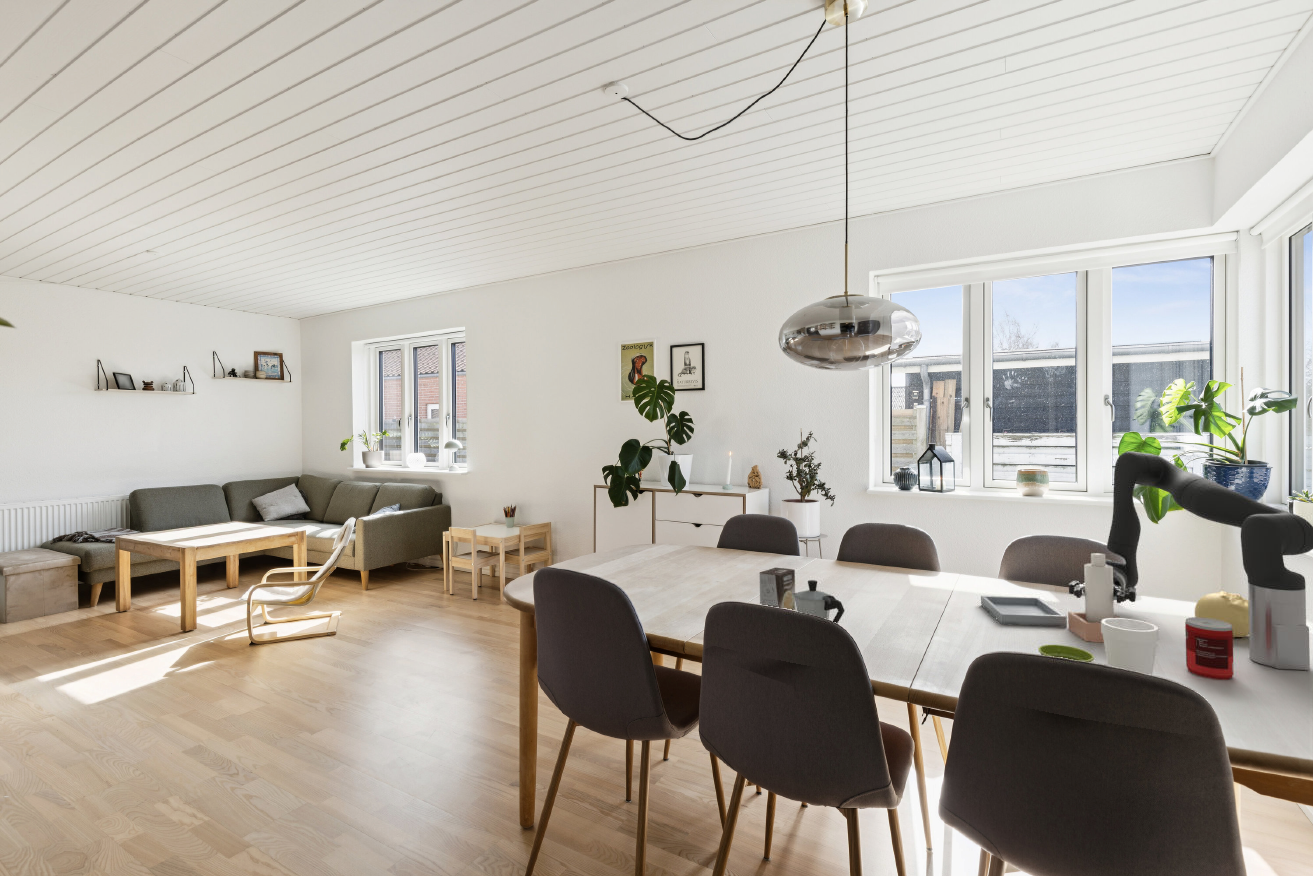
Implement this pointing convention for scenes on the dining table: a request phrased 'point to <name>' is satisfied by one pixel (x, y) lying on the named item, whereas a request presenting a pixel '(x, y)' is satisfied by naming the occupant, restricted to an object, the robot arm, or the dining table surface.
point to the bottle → (1098, 589)
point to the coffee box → (778, 588)
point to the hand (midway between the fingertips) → (1097, 596)
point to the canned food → (1209, 648)
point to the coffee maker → (817, 602)
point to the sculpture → (1225, 611)
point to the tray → (1023, 611)
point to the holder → (1085, 627)
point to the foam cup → (1130, 643)
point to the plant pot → (1066, 652)
